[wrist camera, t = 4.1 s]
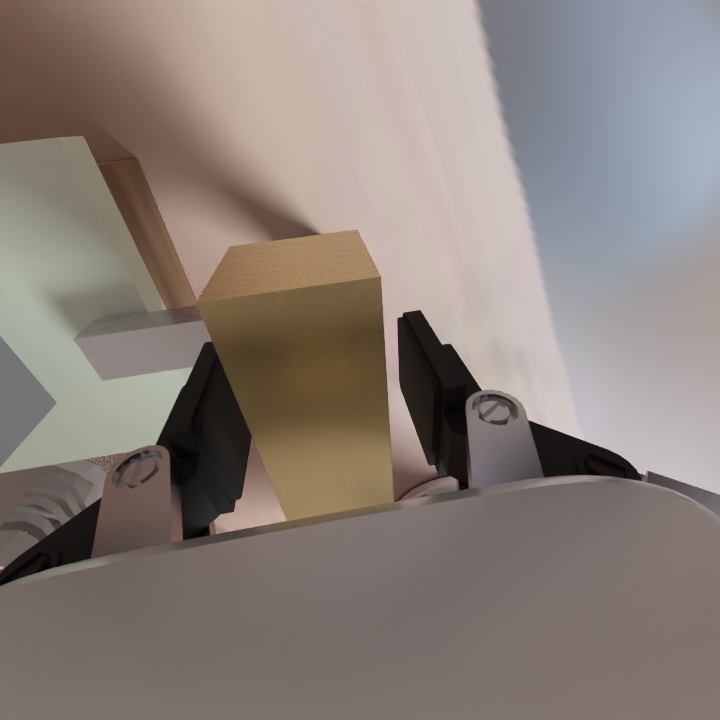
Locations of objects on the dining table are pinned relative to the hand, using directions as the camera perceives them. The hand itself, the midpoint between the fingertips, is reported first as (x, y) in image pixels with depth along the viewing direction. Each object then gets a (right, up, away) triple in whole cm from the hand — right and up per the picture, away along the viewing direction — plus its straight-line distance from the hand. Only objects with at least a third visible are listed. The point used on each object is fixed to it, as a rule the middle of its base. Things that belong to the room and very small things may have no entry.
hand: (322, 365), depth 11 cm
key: (-5, +6, +9) cm, 12 cm away
